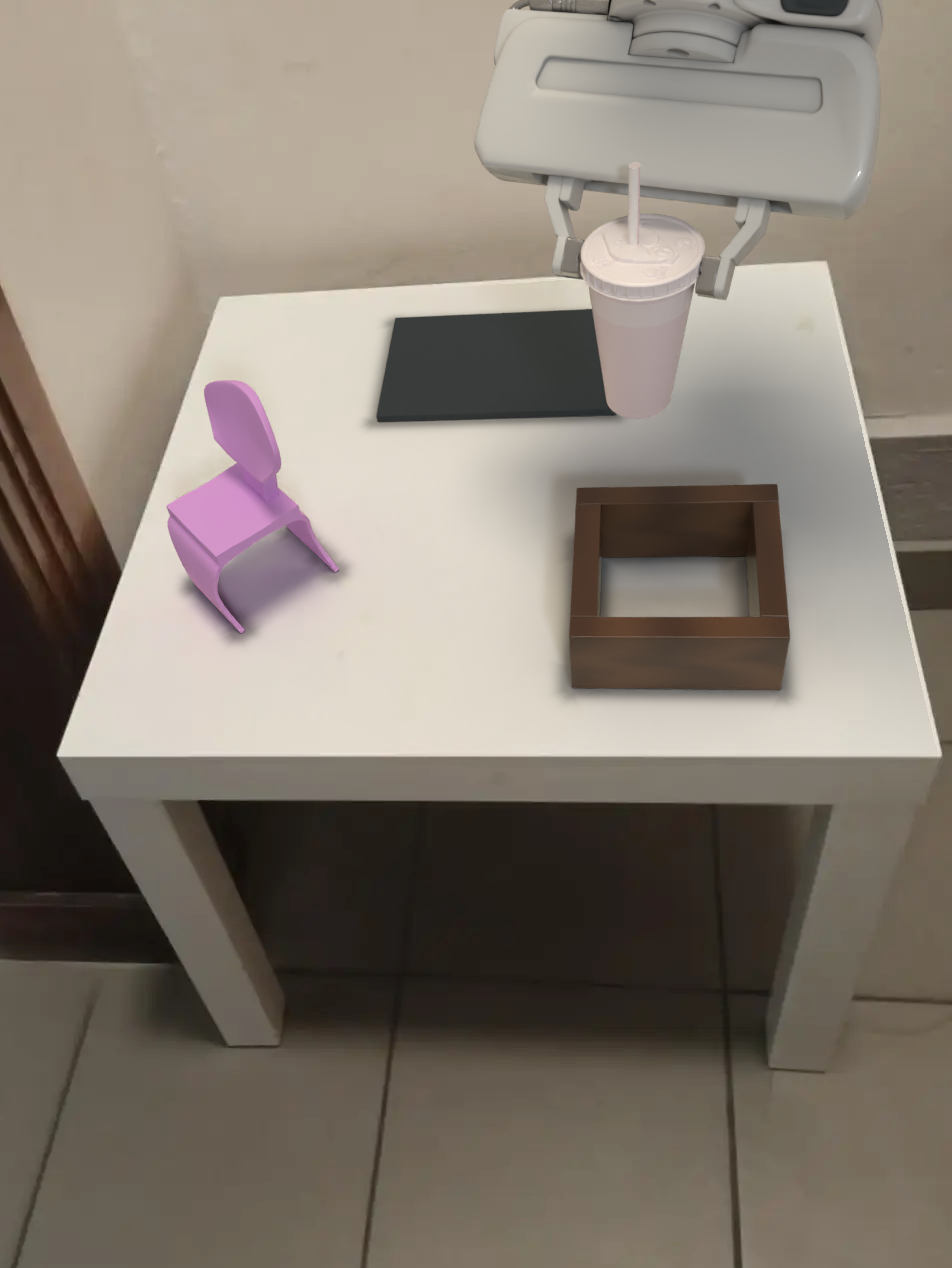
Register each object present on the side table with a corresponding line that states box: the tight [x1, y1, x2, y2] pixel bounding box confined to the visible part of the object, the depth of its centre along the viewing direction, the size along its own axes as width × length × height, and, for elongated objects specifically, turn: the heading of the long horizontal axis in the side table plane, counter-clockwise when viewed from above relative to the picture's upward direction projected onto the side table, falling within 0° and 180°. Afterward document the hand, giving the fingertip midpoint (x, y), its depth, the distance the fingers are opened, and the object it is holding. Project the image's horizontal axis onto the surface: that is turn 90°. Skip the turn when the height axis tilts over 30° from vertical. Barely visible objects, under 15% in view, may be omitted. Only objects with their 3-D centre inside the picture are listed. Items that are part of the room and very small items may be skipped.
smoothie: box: [580, 162, 706, 420], centre depth 65 cm, size 6×6×14 cm
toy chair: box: [166, 379, 340, 634], centre depth 79 cm, size 8×9×15 cm
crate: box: [568, 483, 791, 691], centre depth 77 cm, size 13×13×5 cm
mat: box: [375, 308, 617, 423], centre depth 95 cm, size 18×12×1 cm, turn 84°
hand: (638, 286), depth 64 cm, fingers closed on smoothie, 6 cm apart
